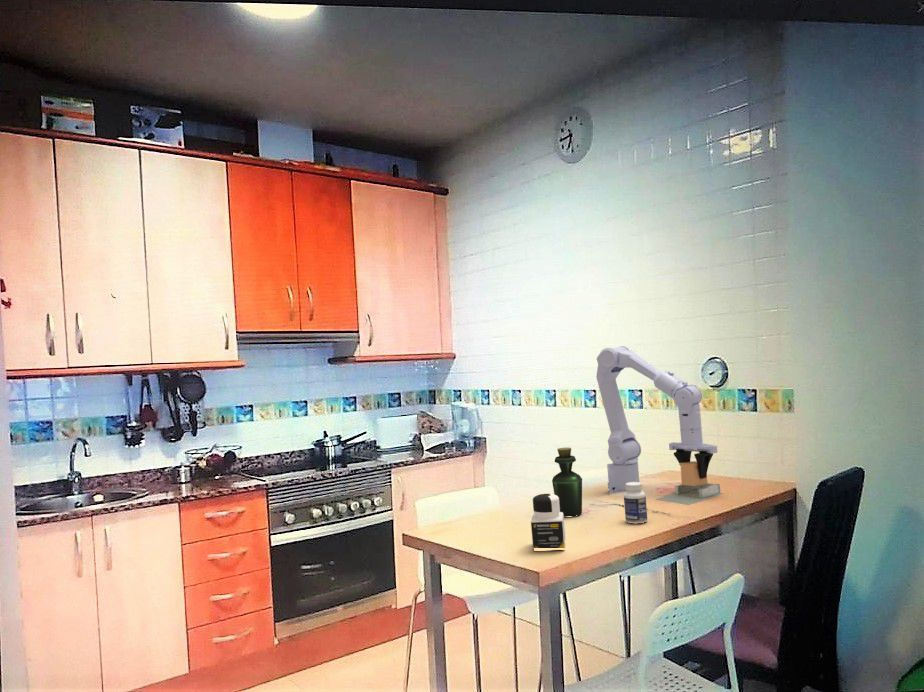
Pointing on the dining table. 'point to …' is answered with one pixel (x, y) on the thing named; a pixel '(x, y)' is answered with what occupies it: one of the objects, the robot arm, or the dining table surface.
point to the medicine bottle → (547, 522)
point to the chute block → (691, 474)
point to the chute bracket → (698, 490)
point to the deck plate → (684, 499)
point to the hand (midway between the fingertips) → (695, 477)
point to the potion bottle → (567, 484)
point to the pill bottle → (635, 503)
